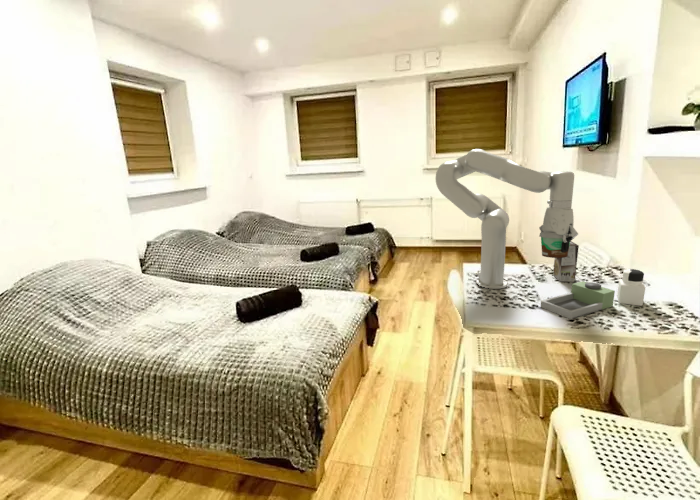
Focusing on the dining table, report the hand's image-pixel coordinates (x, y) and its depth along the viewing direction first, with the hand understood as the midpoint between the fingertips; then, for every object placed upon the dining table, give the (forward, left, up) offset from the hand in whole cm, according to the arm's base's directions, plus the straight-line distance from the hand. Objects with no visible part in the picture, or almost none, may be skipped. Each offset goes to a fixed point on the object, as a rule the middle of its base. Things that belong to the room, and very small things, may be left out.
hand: (556, 249), depth 147 cm
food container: (+1, 0, -3) cm, 3 cm away
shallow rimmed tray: (+14, -6, -18) cm, 23 cm away
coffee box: (-9, +18, -18) cm, 27 cm away
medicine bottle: (+20, +15, -18) cm, 31 cm away
